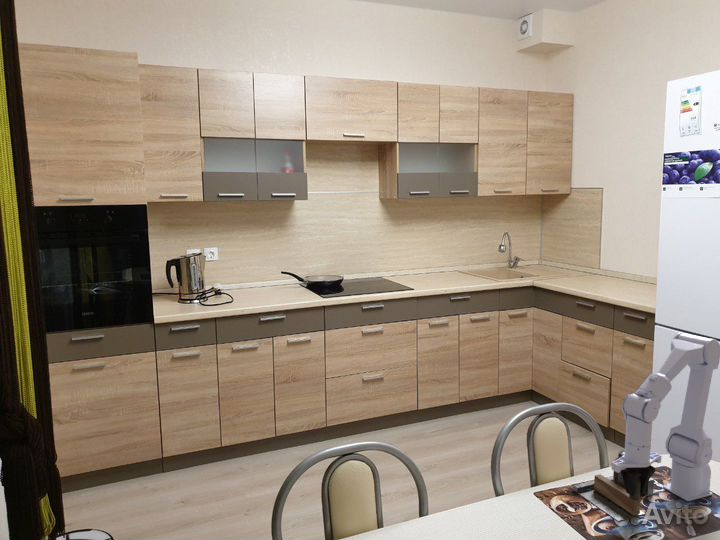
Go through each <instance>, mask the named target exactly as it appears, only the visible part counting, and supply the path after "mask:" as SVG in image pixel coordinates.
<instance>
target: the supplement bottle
mask: <svg viewBox="0 0 720 540" xmlns="http://www.w3.org/2000/svg"><path fill="white" fill-rule="evenodd" d="M622 452H625V449H622V450H619V451H618V455H617V457H615V459H614V461H616V460H618V459H619V458H621V457H622ZM614 461H613V462H614ZM612 476H613V482H614V483H615V484H617V485H619V486H620V487H622V488H624V489H625V490H626V488H625V484H624V480H623V477H622V475H621V473H620V472H619V473H617V472H615V471H614V470H613V475H612Z"/></svg>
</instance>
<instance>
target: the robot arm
mask: <svg viewBox="0 0 720 540" xmlns="http://www.w3.org/2000/svg"><path fill="white" fill-rule="evenodd" d="M719 364H720V343H719V341H718V340H717V339H716V338H708V337H704V336H699V335H694V334H690V333H686V332H683V331H679V332H677V333H676V334H675V336H673V338H672V340H671V343H670V353H669V355H668V356H667V358H666V359H665V361H664V362H663V364H662V366H661V367H660V368H659V370H658V371H657V372H656V373H650V374H649V375H648V376H647V378H646V379H645V380H644V381H643V383H642V384H641V385H640V387H638V389H637V390H636V391H635V393H631V394H627V396H625V398H624V399H623V401H622V405H621V410H622V413H623V416H624V417H623V420H624V422H625V423H626V424H625V439H624V440H625V441H624V450H625V452H622V457H621V458H619V459H618V460H616V461H612V462H611V470H612V471H613V472H614V471H615V472H617V473H619V472H620V473H621V475H622V477H623V480H624V484H625V488H626V493H628V494H630V495H631V496H635V493H636V486H637V482H638V479H640V480H641V488H640V495H641V494H643V493H644V491H645V488H646V485H647V483H648V481H649V479H650V478H652V476H653V475H654V474H655V473H656V467H654V466H652V464H654V463H657V464H660V463H662V455H661V454H659V453H657V452H651V447H652V445H651V444H652V432H653V430H652V429H653V422H654V421H655V420H656V419H657V417H658V415H659V412H660V409H661V406H662V405H661V403H662V402H663V400H664V399H665V398H666V397H667V396H668V394H669V392H671V390H672V389H673V388H672V383H671V382H673V381H674V380H675V378H676V377H677V376H678V375H679V374H680V373H681V372H682V371H683V370H684V369H685V368H686V367H687V366H688V367H689V369H690V371H689V376H688V381H687V387H686V392H685V397H684V404H683V409H682V415H681V420H680V423H679V424H676V425H674V426H672V427H671V428H670V430H669V434H668V435H667V437H666V439H665V445H664V446H665V449H666V452H667V454H669V459H670V458H671V471H670V472H671V473H670V482H669V483H667V484H663V485H662V488H663V489H665V490H667V491H669V492H670V493H672V494H674V495H676V496H677V497H679V498H681V499H683V500H684V501H687V502H691V501H694V500H697V499H701V498H706V497H709V496H712V495H713V492H712V491H710V488H711V478H712V476H711V475H712V470H711V467H710V465H709V463H710V462H711V461H712V457H713V449H712V447H713V446H712V445H713V439H712V438H711V437H710V435H708V433H707V432H706V431H705V430H704V428H703V427H704V421H705V416H706V411H707V405H708V401H709V400H708V399H709V394H710V389H711V388H710V387H711V384H712V378H713V372H714V370H719V369H718V368H719ZM643 495H644V494H643Z"/></svg>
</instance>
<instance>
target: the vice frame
mask: <svg viewBox="0 0 720 540" xmlns="http://www.w3.org/2000/svg"><path fill="white" fill-rule="evenodd" d="M606 478H607V479H609V480H611V481H612V482H613V475H611V476H607V477H606ZM654 483H655V479H654V478H652V477H651V478H650V479H649V481H648V483H647V485H646V488H645V491H644V493H643V495H644V496H647V497H651V496H654V490H655V489H654V488H655V487H654V486H655V485H654ZM572 486H573V491H574V492H575V493H576V494H579V496H581V497H582V498H583V499H584V500H587V502H590V503H591V504H592V505H594V506H595V507H596V508H598V509H599V510H600V511H602V512H604V513H605V514H606V515H608V516H609V517H611V518H612V519H614V520H615V521H617V522H621V521H626V520H629V519H633V518H636V517H639V516H643V515H646V512H644V511H643V510H641V509H640V514H637V515H632V514H631V513H629V512H628V511H626V510H625V509H623V508H622V507H620V506H619V505H617V504H616V503H614V502H613V501H611V500H610V499H608V498H607V497H605V496H604V495H602V494H601V493H599V492H598V491H596V490H595V489H594V480H590V481H587V482H582V483H578V484H574V485H572Z"/></svg>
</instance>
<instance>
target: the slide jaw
mask: <svg viewBox="0 0 720 540" xmlns="http://www.w3.org/2000/svg"><path fill="white" fill-rule="evenodd" d="M593 481H594V489H593V490H596V491H598V492H599V493H601V494H602V495H604V496H605V497H607V498H608V499H610V500H611V501H613V502H614V503H616V504H617V505H619V506H620V507H622V508H623V509H625V510H626V511H628V512H629V513H631V514H632V515H637V514H640V510H641V501H642V500H641V493H640V488H641V480H640V479H638V482H637V486H636V493H635V496H631V495H630V494H628V493H626V490H625V489H624V488H622V487H620V486H619V485H617V484H615V483H614V482H612V481H611V480H609V479H607V478H606V477H605V476H604V475H602V474H601V473H600V474H595V475H594V479H593Z"/></svg>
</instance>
